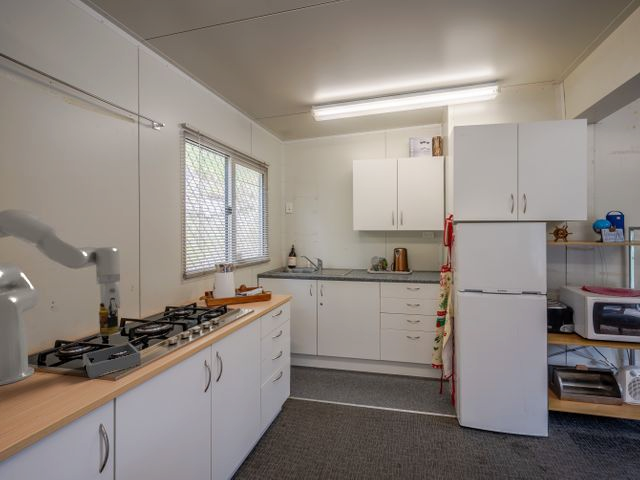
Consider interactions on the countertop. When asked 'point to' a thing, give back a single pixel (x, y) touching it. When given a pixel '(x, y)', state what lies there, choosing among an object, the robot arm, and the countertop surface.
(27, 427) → the countertop surface
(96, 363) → the bin
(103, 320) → the condiment
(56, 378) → the countertop surface
